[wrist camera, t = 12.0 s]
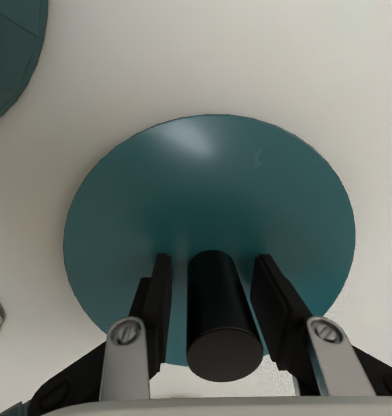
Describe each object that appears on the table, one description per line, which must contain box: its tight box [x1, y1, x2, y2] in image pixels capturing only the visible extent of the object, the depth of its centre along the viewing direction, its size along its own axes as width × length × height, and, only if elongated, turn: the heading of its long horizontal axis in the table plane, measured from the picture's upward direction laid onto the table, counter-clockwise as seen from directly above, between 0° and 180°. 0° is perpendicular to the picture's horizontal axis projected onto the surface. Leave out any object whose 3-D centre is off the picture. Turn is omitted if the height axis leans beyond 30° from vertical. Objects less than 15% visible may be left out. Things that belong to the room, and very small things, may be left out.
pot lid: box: [63, 114, 355, 382], centre depth 10 cm, size 17×17×6 cm
